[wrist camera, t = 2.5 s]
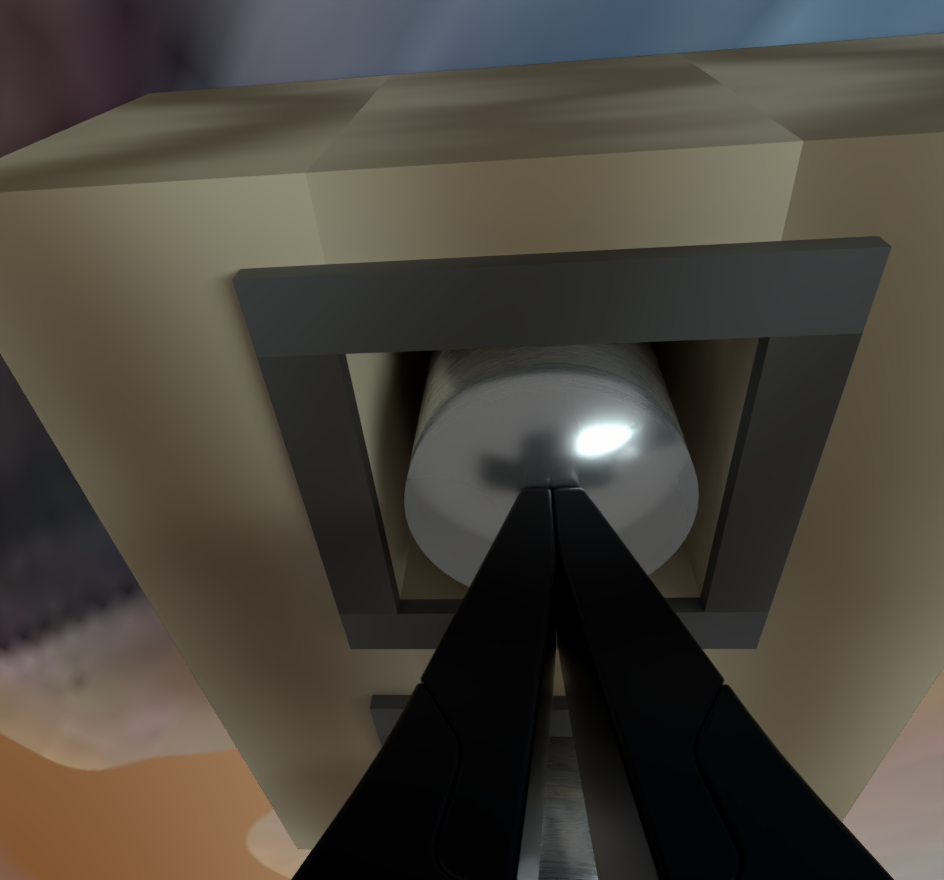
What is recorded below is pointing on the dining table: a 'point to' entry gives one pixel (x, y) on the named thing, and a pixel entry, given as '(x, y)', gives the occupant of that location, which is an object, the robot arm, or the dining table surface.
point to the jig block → (500, 326)
